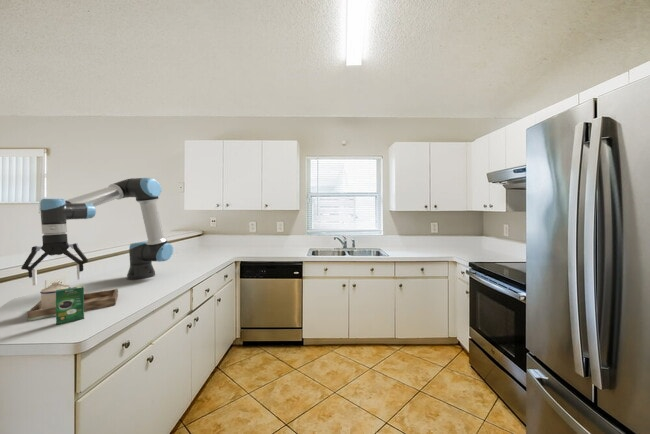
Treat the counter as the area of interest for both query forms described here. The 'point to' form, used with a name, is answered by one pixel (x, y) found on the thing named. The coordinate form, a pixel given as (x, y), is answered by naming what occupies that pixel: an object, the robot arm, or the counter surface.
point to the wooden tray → (90, 302)
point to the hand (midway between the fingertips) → (57, 281)
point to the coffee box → (69, 304)
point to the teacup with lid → (51, 295)
